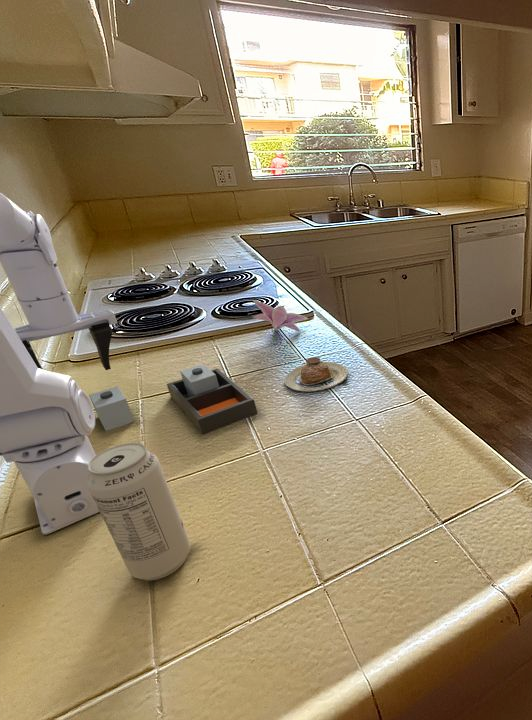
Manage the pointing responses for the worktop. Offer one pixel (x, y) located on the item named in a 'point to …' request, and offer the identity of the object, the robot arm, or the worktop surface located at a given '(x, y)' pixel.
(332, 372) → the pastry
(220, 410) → the tray
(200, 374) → the grey block with knob
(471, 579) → the worktop surface
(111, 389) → the grey knobbed block
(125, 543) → the energy drink can
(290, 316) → the lily
